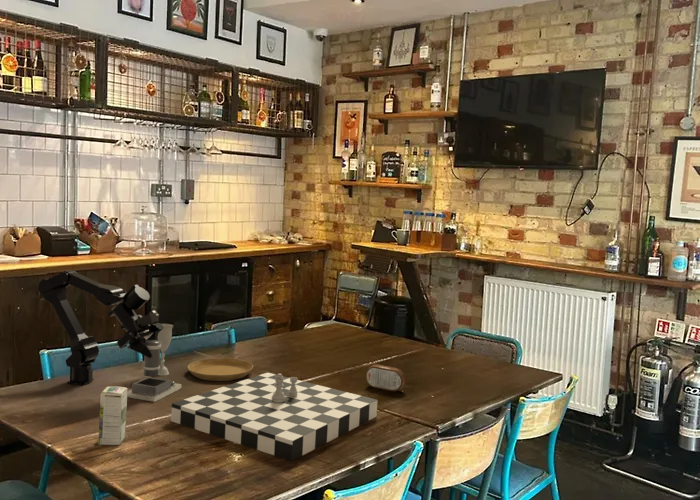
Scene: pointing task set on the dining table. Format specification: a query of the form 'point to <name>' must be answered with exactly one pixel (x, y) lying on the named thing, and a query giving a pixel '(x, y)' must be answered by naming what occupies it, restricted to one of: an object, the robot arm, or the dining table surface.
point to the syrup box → (112, 415)
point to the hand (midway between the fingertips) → (155, 355)
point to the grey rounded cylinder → (152, 358)
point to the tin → (385, 377)
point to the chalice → (164, 345)
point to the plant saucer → (220, 369)
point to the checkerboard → (275, 414)
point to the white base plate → (152, 389)
